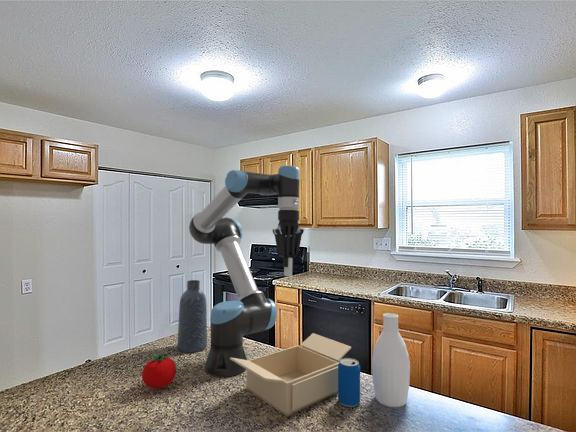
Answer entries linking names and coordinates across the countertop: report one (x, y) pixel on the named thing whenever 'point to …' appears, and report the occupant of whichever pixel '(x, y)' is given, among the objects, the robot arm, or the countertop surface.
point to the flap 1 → (257, 370)
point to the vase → (192, 319)
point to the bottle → (391, 365)
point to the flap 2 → (326, 346)
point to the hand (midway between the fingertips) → (288, 276)
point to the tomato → (159, 372)
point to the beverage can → (349, 382)
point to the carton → (294, 379)
